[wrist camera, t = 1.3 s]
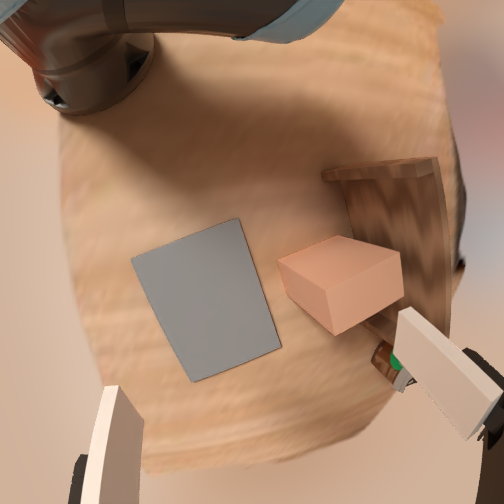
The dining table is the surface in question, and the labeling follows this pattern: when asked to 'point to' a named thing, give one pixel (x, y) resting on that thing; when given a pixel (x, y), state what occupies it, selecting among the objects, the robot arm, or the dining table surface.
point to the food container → (391, 367)
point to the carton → (342, 281)
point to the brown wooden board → (403, 233)
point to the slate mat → (208, 300)
